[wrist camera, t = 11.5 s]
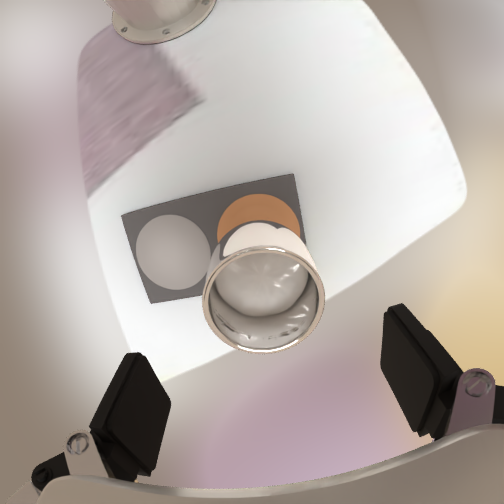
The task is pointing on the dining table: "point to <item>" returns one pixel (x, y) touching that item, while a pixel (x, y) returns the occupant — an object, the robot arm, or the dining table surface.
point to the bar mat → (198, 233)
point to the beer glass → (262, 285)
